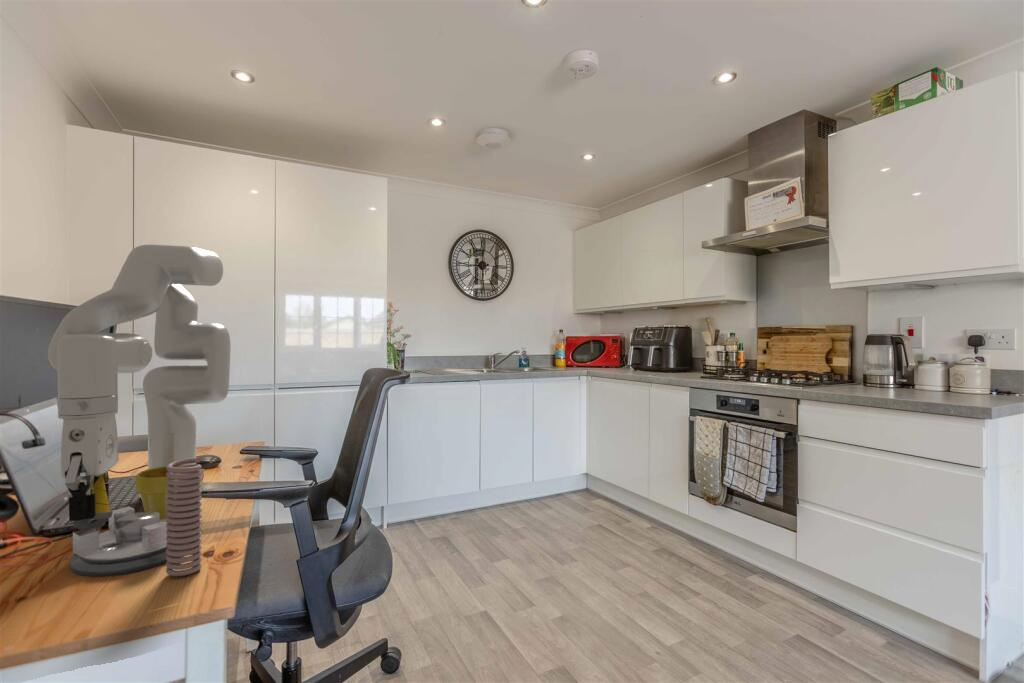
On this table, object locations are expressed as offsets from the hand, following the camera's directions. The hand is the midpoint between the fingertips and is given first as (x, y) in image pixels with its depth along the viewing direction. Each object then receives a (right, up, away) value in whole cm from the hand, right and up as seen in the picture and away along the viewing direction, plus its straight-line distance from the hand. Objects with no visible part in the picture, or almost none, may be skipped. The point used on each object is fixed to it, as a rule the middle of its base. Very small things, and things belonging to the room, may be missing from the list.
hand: (89, 511), depth 79 cm
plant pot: (-1, -8, +19) cm, 21 cm away
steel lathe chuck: (+6, -6, +2) cm, 9 cm away
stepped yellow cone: (0, -4, -1) cm, 4 cm away
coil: (+20, -8, -5) cm, 22 cm away
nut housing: (+6, -8, +2) cm, 10 cm away
